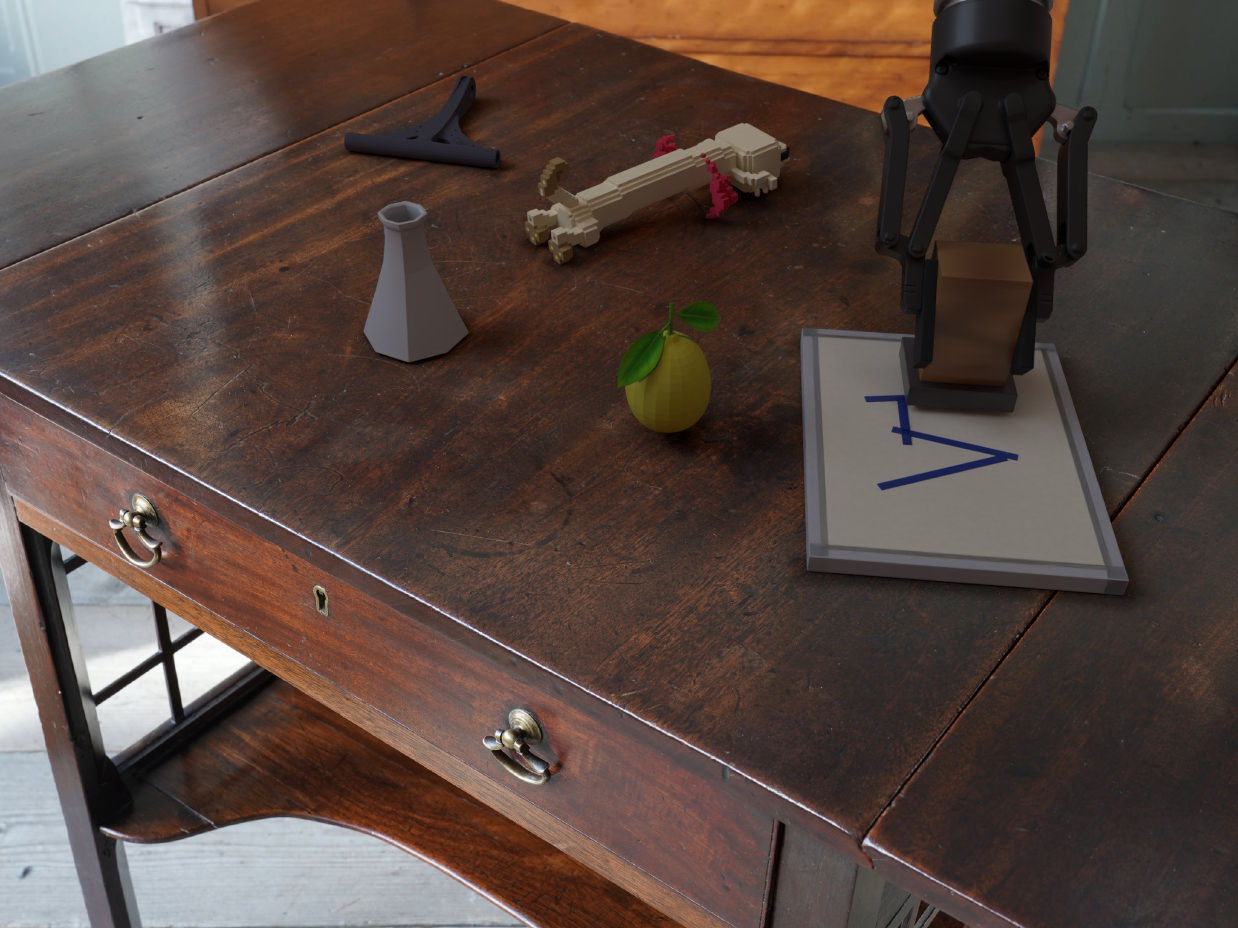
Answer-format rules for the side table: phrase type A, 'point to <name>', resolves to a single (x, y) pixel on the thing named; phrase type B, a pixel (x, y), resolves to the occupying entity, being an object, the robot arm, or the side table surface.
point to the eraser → (971, 329)
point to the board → (947, 477)
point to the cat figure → (656, 185)
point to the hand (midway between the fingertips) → (972, 367)
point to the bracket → (433, 135)
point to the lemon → (669, 372)
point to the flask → (410, 292)
